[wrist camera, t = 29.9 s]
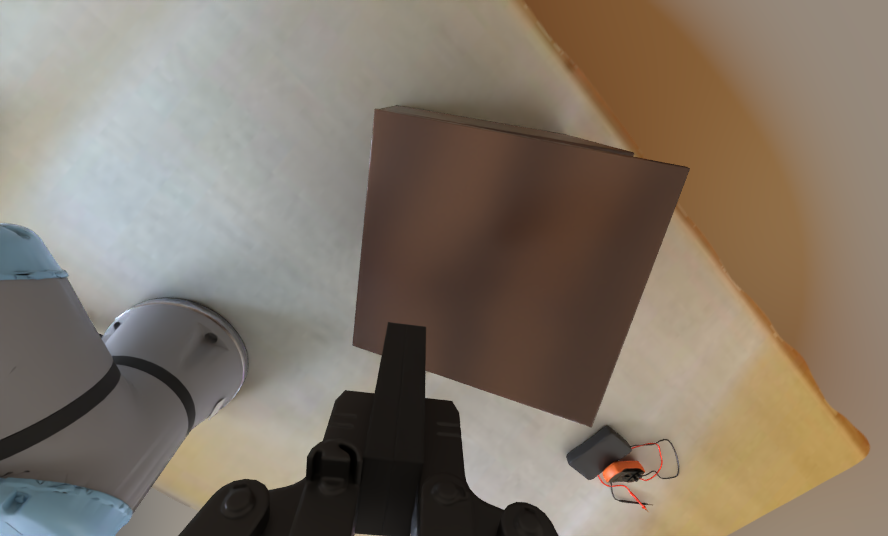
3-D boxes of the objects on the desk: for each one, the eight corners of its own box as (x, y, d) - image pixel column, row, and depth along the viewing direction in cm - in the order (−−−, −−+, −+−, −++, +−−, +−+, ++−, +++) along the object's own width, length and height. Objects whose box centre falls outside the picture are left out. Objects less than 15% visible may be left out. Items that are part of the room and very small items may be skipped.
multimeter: (702, 477, 59) (717, 498, 56) (631, 517, 62) (641, 540, 59) (636, 404, 54) (649, 423, 51) (562, 452, 57) (569, 473, 54)
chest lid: (686, 166, 21) (690, 168, 21) (591, 420, 28) (591, 427, 27) (380, 109, 26) (374, 108, 25) (357, 340, 32) (352, 345, 31)
